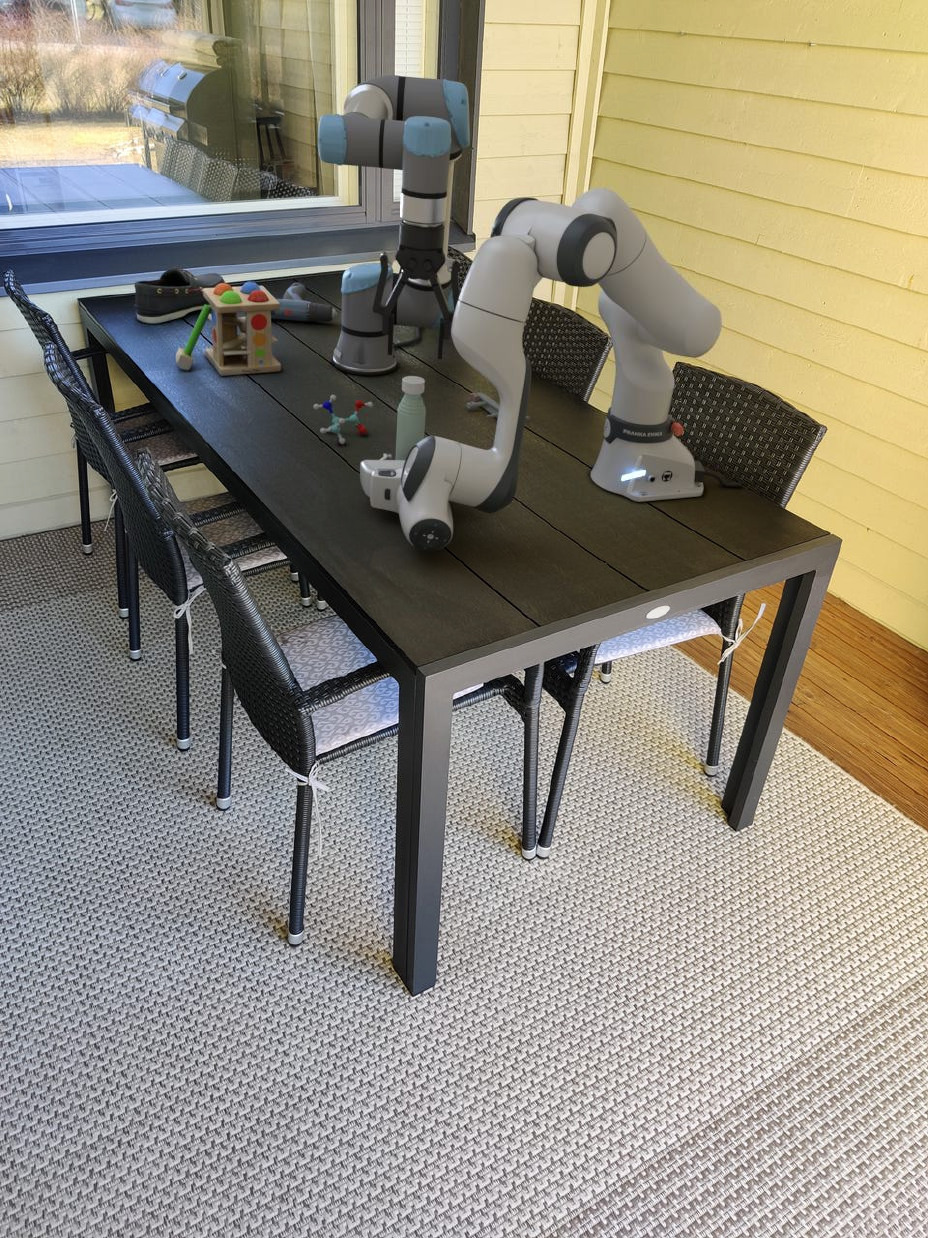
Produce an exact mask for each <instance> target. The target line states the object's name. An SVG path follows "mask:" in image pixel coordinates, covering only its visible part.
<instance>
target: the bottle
mask: <svg viewBox="0 0 928 1238" xmlns="http://www.w3.org/2000/svg"><path fill="white" fill-rule="evenodd" d="M421 394H422V393H421ZM421 394H416V395H414V394H407V393H405V392H404V394H403V395H402V396H403V397H402V398H401V401H400V402H399V404H398V407H397V418H396V440H395V457H394V458H395V459H394V460H406V458H407V455H408V453H409V451H410V450H411V448H412V447H413V446H414V445H416V444H417V443H418V442H419V441H421V440H422V439H424V438H425V432H426V431H425V430H426V416H427V415H426V414H427V410H426V406H425V402H424V400H423V396H422V395H421Z"/></svg>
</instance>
